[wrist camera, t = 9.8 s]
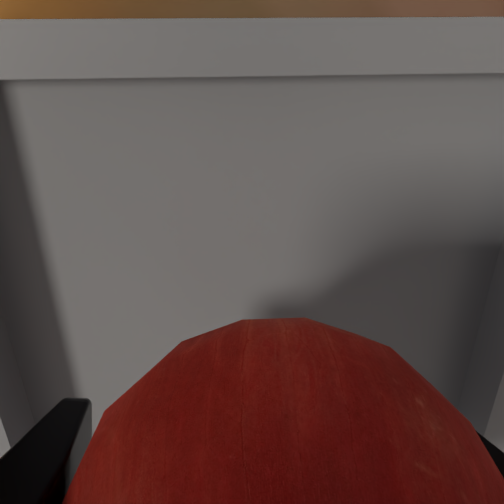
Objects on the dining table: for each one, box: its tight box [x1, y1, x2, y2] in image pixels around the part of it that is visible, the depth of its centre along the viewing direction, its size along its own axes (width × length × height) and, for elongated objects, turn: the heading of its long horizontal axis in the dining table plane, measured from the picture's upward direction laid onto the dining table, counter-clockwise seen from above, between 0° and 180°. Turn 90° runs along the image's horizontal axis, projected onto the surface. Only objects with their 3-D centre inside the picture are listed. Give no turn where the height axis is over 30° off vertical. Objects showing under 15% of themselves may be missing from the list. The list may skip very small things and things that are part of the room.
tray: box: [0, 17, 504, 458], centre depth 10 cm, size 13×13×2 cm
